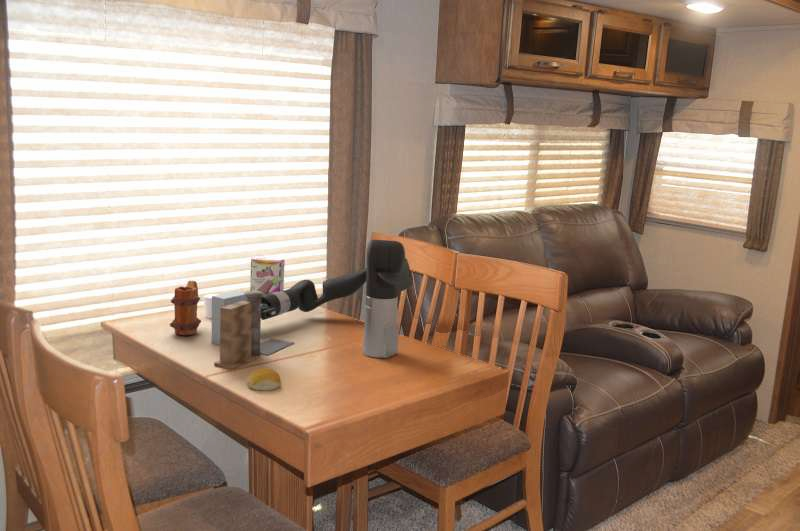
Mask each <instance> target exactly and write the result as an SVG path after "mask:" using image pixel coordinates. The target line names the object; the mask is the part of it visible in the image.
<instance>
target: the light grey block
mask: <svg viewBox="0 0 800 531" xmlns="http://www.w3.org/2000/svg"><path fill="white" fill-rule="evenodd" d="M244 292H245V291H239V290H233V291H229V292H224V293H218V294H219V295H214V296H212V318H211V343H212V344H216V345H220V308H221V307H224V306H227V305H231V304H234V303H237V302H240V301H246V297H245V296H244Z"/></svg>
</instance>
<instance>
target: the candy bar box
mask: <svg viewBox="0 0 800 531" xmlns="http://www.w3.org/2000/svg"><path fill="white" fill-rule="evenodd" d="M285 263H286V262H285V259H283V258H274V257H273V258H272V257H261V256H254V257H253V258H251V259H250V288H249V291H261V292H263V295H265V294H269V293H273V292H280V291H284V290H285Z"/></svg>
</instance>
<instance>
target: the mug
mask: <svg viewBox="0 0 800 531" xmlns="http://www.w3.org/2000/svg"><path fill="white" fill-rule="evenodd" d="M186 284H187V285H186V286H184V285H183V286H178V287H175V288H174V296H173V297H172V299H171V300H170V303H172V304H173V305H174V319H173V320H172V322H170V324H169V327H171V328H172V329H174V333H175V334H176V335H178V336H192V335H195V334H196V333H197V330H198V328H199V326H200V324H201V323H202V320H201V319H199V318H198V312H197V311H198V303H199V301H200V300H201V297H199V288H198V283H197V281H196V280H188V281H187V283H186Z"/></svg>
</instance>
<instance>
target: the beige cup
mask: <svg viewBox="0 0 800 531" xmlns="http://www.w3.org/2000/svg"><path fill="white" fill-rule="evenodd" d="M219 294H220V293H207V294H204V295H203V301H204V304H203V305H204V315H205V318H207V317H208V319H212V296H214V295H219Z"/></svg>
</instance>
